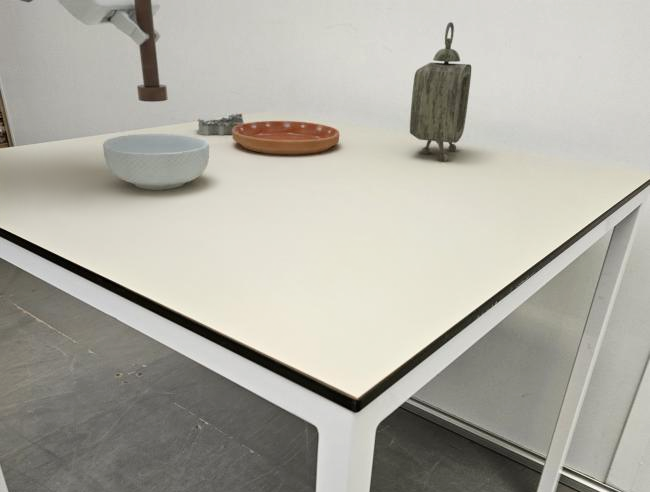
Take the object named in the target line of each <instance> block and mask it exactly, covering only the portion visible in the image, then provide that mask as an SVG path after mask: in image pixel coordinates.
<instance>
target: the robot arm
mask: <svg viewBox="0 0 650 492" xmlns="http://www.w3.org/2000/svg"><path fill="white" fill-rule="evenodd" d="M20 1H21V2H23V3H24V2H25V3H31V2H35V1H36V0H20ZM56 1H57V2H58V3H59V4H60V5H61V6H62V7H63V8H64V9H65V10H66V11H67V12H68V13H69V14H70V15H71V16H72V17H74V18H75V19H76V20H78V21H79V22H81V23H82V24H84V25H86V26H95V25H97V26H98V25H113V26H114V27H115V28H116V29H117V30H119V31H121V32H122V33H124V34H125V35H127V36H128V37H130V38H131V39H132V41H134V42H135V44H136V45H138V46H139V45H141V44H145V43H146V41H147V40H148V39H149V35H148V34H147V33H146V32H145V30H144V29H143V28H142V27H138V26H137V21H136V12H135V4H134V0H56ZM151 4H152V13H153V18H154V17H155V15H156V14H157V13H158V11H159V10H160V8H161V6H160V3H159V1H158V0H151ZM154 33H155V43H157V42H158V41H159V39H160V38H161V33H160V32H159V31H158V30H157V29H156V28H155V27H154Z"/></svg>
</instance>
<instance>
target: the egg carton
mask: <svg viewBox="0 0 650 492" xmlns="http://www.w3.org/2000/svg"><path fill="white" fill-rule="evenodd" d="M197 122H198V134H199V135H203V136H210V135H218V136H224V135H232V129H233V128H234V127H235V126H237V125H241V124H245V121H244V118H243V114H242V113H235V114H234V113H232V114H229V116H228V117H222V118H218V119H216V118H213V119H208V120H204V119H201V118H198V119H197Z"/></svg>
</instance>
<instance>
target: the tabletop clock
mask: <svg viewBox="0 0 650 492" xmlns="http://www.w3.org/2000/svg"><path fill="white" fill-rule="evenodd" d="M449 31H450V37H449V38H448V35H449ZM454 32H455V27H454V23H453V22H452V21H450V22H448V23H447V25H446V28H445V34H444V46H445V47H444V48H441V49H439V50H438V51H437V52H436V53H435V55H434V57H433V59H432V60H433V61H435V62H428V63H426V64H425V65H423V66H421V67H419V68H418V69H417V70H416V71H415V72H414V77H413V84H412V85H413V86H412V95H411V104H410V120H409V134H410V135H411V136H413V137H414V138H416V139H417V140H419V141H426V144H425V145H426V146H425V147H423V148H422V149H421V154H422V155H429V153H430V151H431V150H430V148H429V147H430V145H431V143H432V142H435V143H436V144H437V145H438V147H439V151H440V155H439V161H440V162H447V161H448V158H449V157H448V155H447V154H446V153H445V151H444V143H448V144H449V145H448V151H449V152H455V151H456V150H457V145H456V144H457V143H458V142H459V141H460V139H462V136H463V133H464V131H465V126H466V125H465V124H466V118H467V112H468V105H469V97H470V88H471V81H472V80H471V78H472V65H471V64H470V63H469V64H467V63H457V62H461V58H460V55H459V53H458V51H457V50H455V49H453V48H452V44H453V40H454V34H455V33H454ZM450 62H452V63H450Z"/></svg>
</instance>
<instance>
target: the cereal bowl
mask: <svg viewBox="0 0 650 492" xmlns="http://www.w3.org/2000/svg"><path fill="white" fill-rule="evenodd" d="M102 148H103V149H102V151H103V156H104V161H105V162H106V165H107V168H108V169H109V170H110V171H111V173H113V175H115V176H116V177H117V178H118V179H121V180H123V181H124V182H127V183H130V184H133V185H134V186H135V187H137V188H138V189H142V190H143V189H144V190H154V191H158V190H159V191H161V190H170V189H177V188H179V187H183V186H185V184H186V183H189V182H191V181H193V180H195V179H197V178H199V177H200V176H201V175H202V174H203V173H204V172H205V170H207V167H208V164H209V159H210V144H209V141H208V140H206V139H204V138H201V137H198V136H193V135H187V134H186V135H185V134H175V133H140V134H138V133H137V134H127V135H120V136H116V137H112V138H108V139H107V140H105V141H103V143H102Z"/></svg>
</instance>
